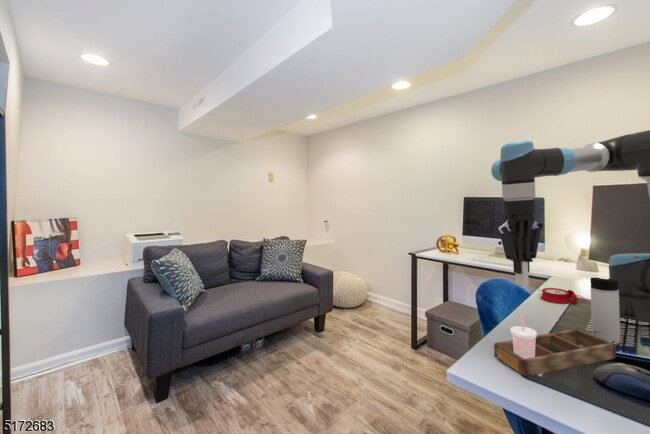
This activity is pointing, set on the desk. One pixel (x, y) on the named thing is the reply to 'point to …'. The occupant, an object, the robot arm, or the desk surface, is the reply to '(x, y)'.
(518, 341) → the beverage cup
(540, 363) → the walnut rack
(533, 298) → the desk surface
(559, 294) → the alarm clock
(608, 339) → the travel mug
